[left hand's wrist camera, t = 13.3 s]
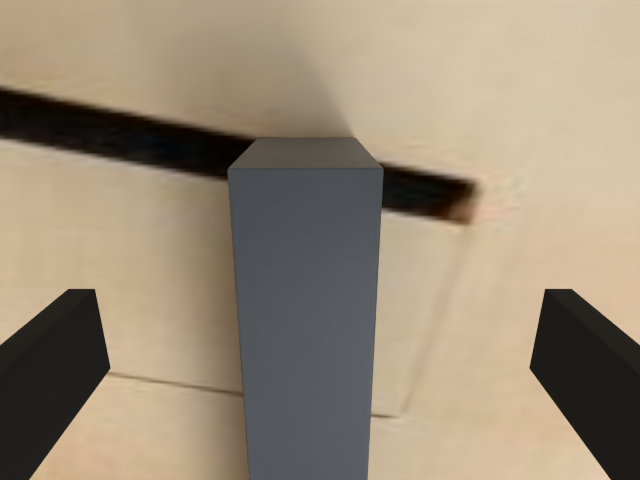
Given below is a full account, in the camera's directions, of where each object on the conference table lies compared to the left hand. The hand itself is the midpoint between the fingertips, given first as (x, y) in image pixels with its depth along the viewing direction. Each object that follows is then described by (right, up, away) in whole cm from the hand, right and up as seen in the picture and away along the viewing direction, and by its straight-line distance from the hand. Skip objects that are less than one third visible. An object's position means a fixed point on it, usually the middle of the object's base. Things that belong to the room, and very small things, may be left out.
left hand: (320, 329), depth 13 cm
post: (-1, -16, +17) cm, 24 cm away
